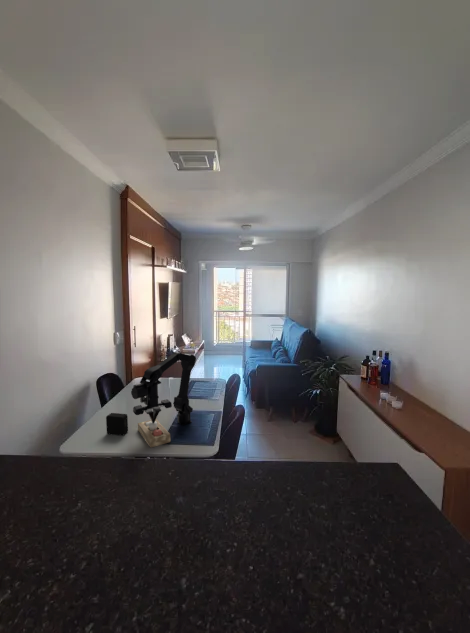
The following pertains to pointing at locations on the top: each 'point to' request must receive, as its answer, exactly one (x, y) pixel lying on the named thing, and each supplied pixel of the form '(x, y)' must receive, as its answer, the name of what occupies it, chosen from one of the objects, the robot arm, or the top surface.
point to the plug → (152, 426)
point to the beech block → (149, 436)
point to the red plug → (157, 432)
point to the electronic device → (117, 424)
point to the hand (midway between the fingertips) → (153, 422)
